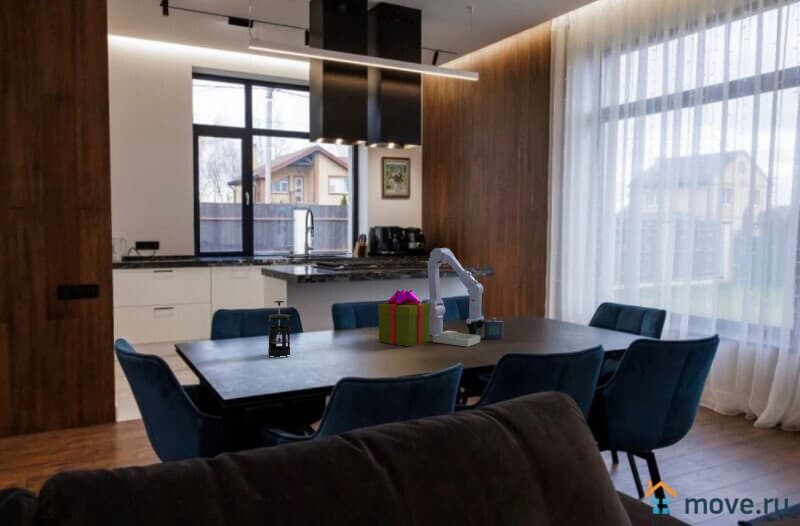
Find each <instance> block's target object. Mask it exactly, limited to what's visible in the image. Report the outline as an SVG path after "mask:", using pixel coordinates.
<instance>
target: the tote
mask: <svg viewBox="0 0 800 526" xmlns="http://www.w3.org/2000/svg"><path fill="white" fill-rule="evenodd" d="M480 338H481V339H482V334H481V335H472V334H469V333H464V332H457V338H452V337H444V336H439V334H436V335H433V336H432V343H437V344H438V343H440V344H446V345H454V346H461V347H469V346H473V345H475V344H478V343H481V339H480Z"/></svg>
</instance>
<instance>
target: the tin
mask: <svg viewBox="0 0 800 526" xmlns="http://www.w3.org/2000/svg"><path fill="white" fill-rule="evenodd" d="M482 328H483V327H482ZM482 328H480V327H477V328H476V334H475V335H481V336H482ZM468 334H470V333H469V332H468ZM480 340H482V337H481V338H480Z"/></svg>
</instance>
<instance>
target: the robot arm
mask: <svg viewBox="0 0 800 526" xmlns="http://www.w3.org/2000/svg"><path fill="white" fill-rule="evenodd" d="M429 255H430V257H429V259H428V261H427V275H428V290H429V291H428V292H429V300H428V301H427V303H430V315H429V336H431V337H433V335H436V334H439V333H441V332H444V330H443V329H444V323H443V322H444V315H445V314H446V307H445V304H444V300H443V299H442V298H441V296H442V295H441V282H440V267H441V265H442V264H443V263H445V264H448V265H449V266H450V267H451V268H452V269H453V271H455V272H456V273H457V274H458V279H459V280H460V282H461V283H462V284H463V285H464V287H465V288H466V289H467V293H468V295H469V314H468V318H467V319H466V320H465V321H466V322H465V325H466V327H467V329H468V334H469V333H470V334H472V335H475V334H476V328H477V327H480V328H483V326H484V325H485V323H484V322H485V321H484V318H485V315H484V316H483V315H482V304H483V303H482V295H483V293H484V290H485V288H484V286H483V284H482V283H481V282H479V281H478V280H477V279H475V278H474V276H473V275H472V272H471V271H468V270H465V269H464V268H463V266H462V264H461V263H460V262H459V261H458V260H457V258H456V256H455V255H454V253H453V252H452V251H451V250H450V248H448V247H441V248H439V247H435V248H433V249H432V250H431V252H429Z"/></svg>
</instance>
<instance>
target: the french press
mask: <svg viewBox="0 0 800 526" xmlns="http://www.w3.org/2000/svg"><path fill="white" fill-rule="evenodd" d="M273 302H274V303H275V304H277V306H278V313H276V314H275V313H274V314H268V319H269V321H268V322H271V323H277V322H278V325H270V326H268V327H267V328H268V329H267V330H268V352H267V353H268V354H267V356H268V355H269V356H274V357H280V356H287V355H290V354H291V342H290V341H291V339H290V338H291V336H290V335H291V326H290V325H280V323H281V320H284V321H285V320H287V321H289V322H290V317H291V314H286V313H281V311H280V310H281V309H280V306H281V303H285V301H284V300H275V301H273ZM277 334H278V335H277ZM277 337H278V338H277Z"/></svg>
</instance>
